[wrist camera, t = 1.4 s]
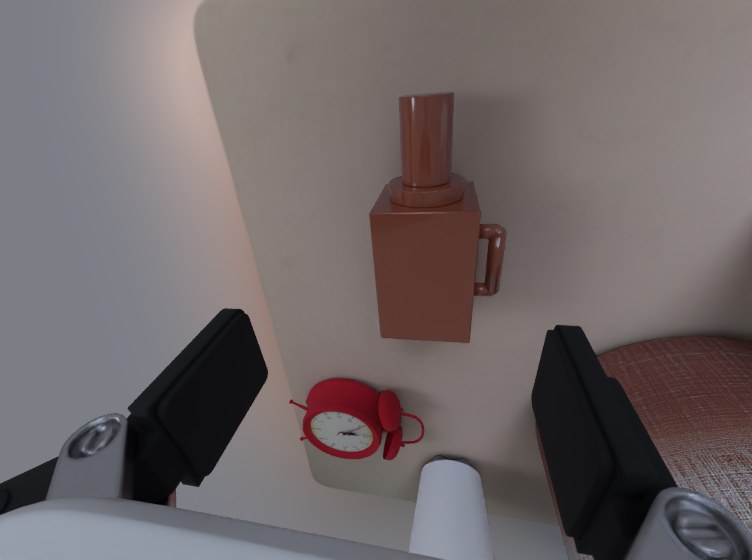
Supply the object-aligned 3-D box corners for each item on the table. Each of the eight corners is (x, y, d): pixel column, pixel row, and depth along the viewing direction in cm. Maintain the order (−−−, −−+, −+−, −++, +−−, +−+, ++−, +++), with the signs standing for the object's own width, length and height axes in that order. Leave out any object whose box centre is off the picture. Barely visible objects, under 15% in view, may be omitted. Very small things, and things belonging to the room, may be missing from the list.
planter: (874, 337, 25) (1761, 878, 8) (726, 489, 36) (965, 844, 20) (558, 315, 29) (713, 646, 12) (515, 458, 40) (563, 731, 24)
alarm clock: (280, 396, 36) (409, 441, 31) (311, 357, 41) (427, 391, 36) (298, 451, 42) (411, 498, 36) (323, 411, 46) (426, 447, 41)
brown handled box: (392, 291, 31) (380, 96, 23) (490, 294, 29) (515, 84, 21) (380, 338, 25) (358, 102, 17) (500, 345, 24) (540, 87, 15)
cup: (412, 443, 42) (400, 565, 32) (492, 452, 40) (508, 586, 30) (414, 484, 48) (405, 601, 37) (485, 494, 46) (497, 622, 35)
